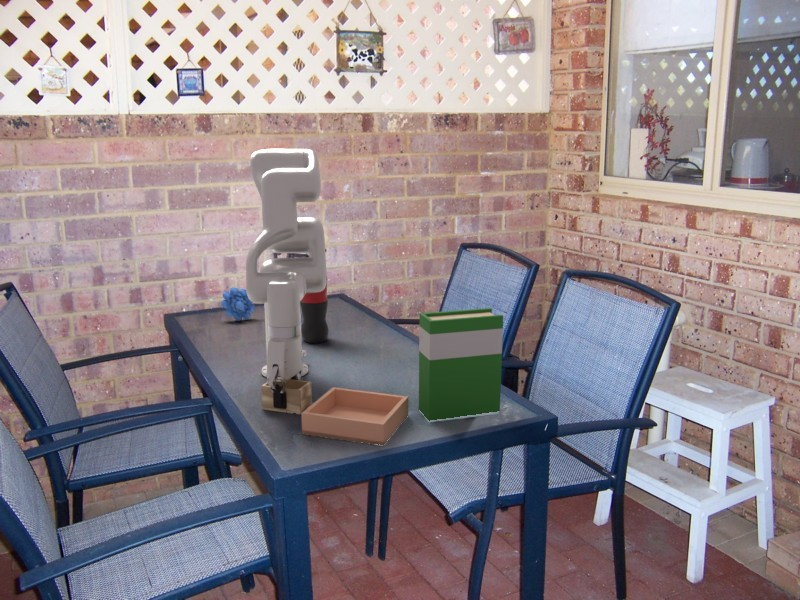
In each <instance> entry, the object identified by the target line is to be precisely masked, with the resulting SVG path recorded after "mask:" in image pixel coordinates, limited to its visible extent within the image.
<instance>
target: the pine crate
mask: <svg viewBox="0 0 800 600" xmlns="http://www.w3.org/2000/svg"><path fill="white" fill-rule="evenodd" d="M277 379H280V380H281V379H282V378H277ZM281 383H282V382H277V384H278V385H279V386H280V387H281ZM312 385H313V384H312V381H308V380H293V379H289V380H287V381H286V385H285V391H284V392H286V402H287V408H286V409H280V408H274V406H273V392H272V389H271V387H270V386H269V384H268V381H266V382H265V383H263V384H262V385H261V386H260V387H261V390H260V391H261V408H262V410H265V411H273V412H279V413H286V412H287V413H288V414H293V413H296V414H295V415H302V414H301V413H302V412H303V411H305V410H306V409H307V408H308V407H310V406H311V405H312V404H313V391H312V388H313V387H312ZM287 413H286V414H287Z"/></svg>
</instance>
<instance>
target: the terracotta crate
mask: <svg viewBox="0 0 800 600" xmlns="http://www.w3.org/2000/svg"><path fill="white" fill-rule="evenodd" d="M300 415H301V435H302V434H305V435H304V436H309V435H311V437H316V436H321V437H320V438H323V437H327V438H326V439H329V438H334V439H333V440H336V439H342V440H341V441H343V440H348V441H347V442H349V441H355V442H354V443H356V442H363V443H370V444H378V445H379V444H380V445H384V444H385V443H386V442H387V440H388V439H389V438H390V437H391V436H392V434H393V433H394V432H395V431H396V429H397V428H398V427H399V426H400V425H401V423H402V422H403V421H404V420H405V419H406V418H407V416H408V417H409V396H408V395H405V396H404V395H398V394H389V393H382V392H376V391H375V392H374V391H368V390H367V391H366V390H360V389H359V390H357V389H350V388H342V387H335V386H333V387H331V388H330V389H329V390H328V391H326V392H325V393H324V394H323V395H322V396H320V397H319V398H318V399H316V401H314V402H312V405H311V406H310V407H308V408H307V409H306V410H305V411H303V412H302V413H301V414H300ZM407 419H408V418H407ZM407 419H406V420H407ZM406 420H405V421H406ZM405 421H404V422H405ZM401 426H402V425H401ZM401 426H400V427H401ZM400 427H399V428H400ZM396 432H397V431H396ZM396 432H395V433H396ZM395 433H394V434H395ZM392 437H393V436H392ZM392 437H391V438H392ZM391 438H390V439H391ZM390 439H389V440H390ZM389 440H388V441H389ZM363 443H362V444H363ZM387 443H388V442H387ZM387 443H386V444H387ZM370 444H369V445H370ZM386 444H385V445H386ZM385 445H384V446H385Z"/></svg>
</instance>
